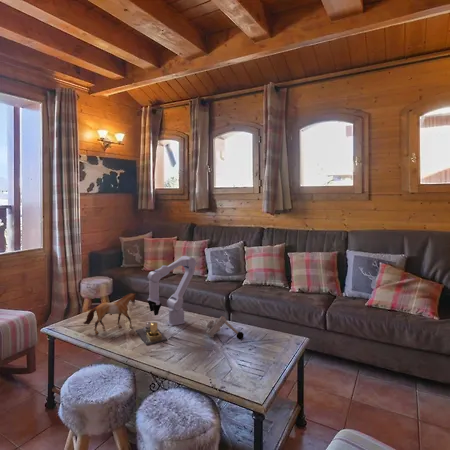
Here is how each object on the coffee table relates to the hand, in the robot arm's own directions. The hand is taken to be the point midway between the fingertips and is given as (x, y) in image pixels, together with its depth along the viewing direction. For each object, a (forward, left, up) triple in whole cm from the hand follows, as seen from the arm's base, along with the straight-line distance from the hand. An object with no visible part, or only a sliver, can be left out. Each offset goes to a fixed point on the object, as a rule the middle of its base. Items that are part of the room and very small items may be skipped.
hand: (154, 312), depth 198 cm
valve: (-32, +31, -10) cm, 46 cm away
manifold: (+5, +9, -10) cm, 14 cm away
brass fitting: (+5, +14, -9) cm, 17 cm away
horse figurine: (+23, -14, -10) cm, 29 cm away
